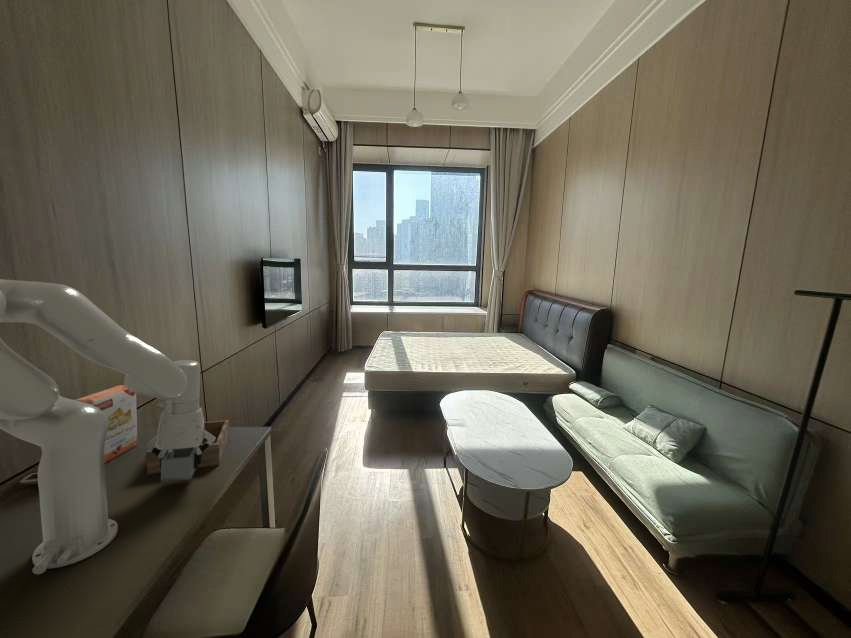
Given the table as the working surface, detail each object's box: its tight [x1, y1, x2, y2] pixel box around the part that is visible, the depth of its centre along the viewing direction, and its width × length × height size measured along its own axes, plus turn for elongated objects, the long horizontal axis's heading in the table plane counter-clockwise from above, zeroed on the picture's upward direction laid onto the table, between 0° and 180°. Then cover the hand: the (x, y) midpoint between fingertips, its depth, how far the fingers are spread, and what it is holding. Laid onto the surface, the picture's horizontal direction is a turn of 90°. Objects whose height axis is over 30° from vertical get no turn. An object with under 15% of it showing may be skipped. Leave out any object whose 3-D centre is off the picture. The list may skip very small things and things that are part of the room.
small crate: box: [160, 448, 197, 484], centre depth 91 cm, size 9×7×6 cm
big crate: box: [145, 419, 230, 476], centre depth 106 cm, size 18×18×7 cm
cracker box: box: [75, 384, 138, 464], centre depth 102 cm, size 14×6×21 cm, turn 179°
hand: (181, 467), depth 91 cm, fingers closed on small crate, 6 cm apart
